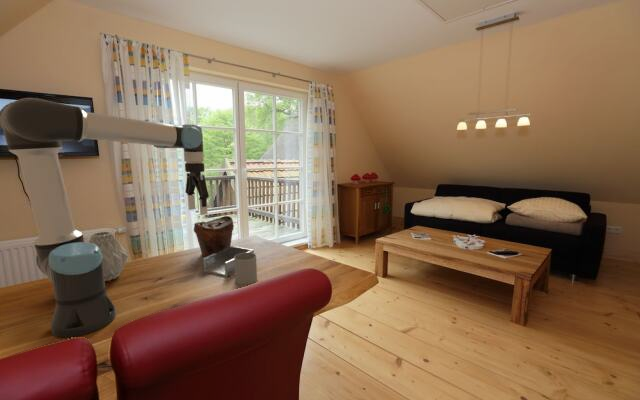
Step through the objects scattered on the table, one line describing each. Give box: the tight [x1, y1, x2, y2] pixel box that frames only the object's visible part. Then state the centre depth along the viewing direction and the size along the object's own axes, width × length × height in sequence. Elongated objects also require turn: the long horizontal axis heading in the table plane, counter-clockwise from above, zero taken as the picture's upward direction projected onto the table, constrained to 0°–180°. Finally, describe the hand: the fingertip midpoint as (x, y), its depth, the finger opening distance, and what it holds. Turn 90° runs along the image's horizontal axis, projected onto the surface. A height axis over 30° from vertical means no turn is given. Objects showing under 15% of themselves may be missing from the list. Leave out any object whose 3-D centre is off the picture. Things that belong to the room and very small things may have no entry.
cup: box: [234, 252, 258, 286], centre depth 118 cm, size 8×8×10 cm
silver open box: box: [202, 245, 255, 278], centre depth 132 cm, size 18×12×6 cm
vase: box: [87, 231, 130, 282], centre depth 119 cm, size 16×16×18 cm
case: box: [193, 215, 235, 258], centre depth 147 cm, size 18×20×18 cm
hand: (197, 211), depth 130 cm, fingers open, 13 cm apart
